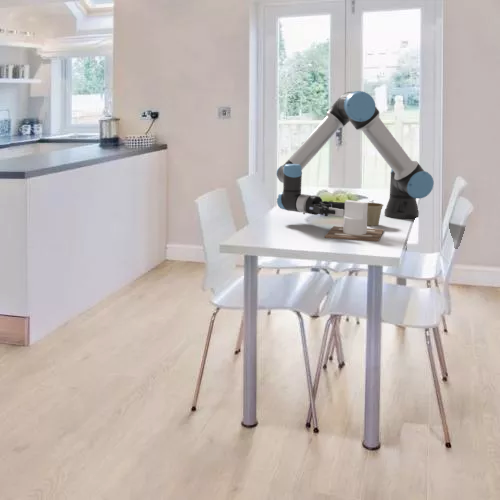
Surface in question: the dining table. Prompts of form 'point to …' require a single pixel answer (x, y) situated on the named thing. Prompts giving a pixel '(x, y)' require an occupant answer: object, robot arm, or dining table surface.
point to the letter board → (369, 236)
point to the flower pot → (373, 214)
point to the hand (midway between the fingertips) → (353, 211)
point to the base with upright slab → (355, 217)
